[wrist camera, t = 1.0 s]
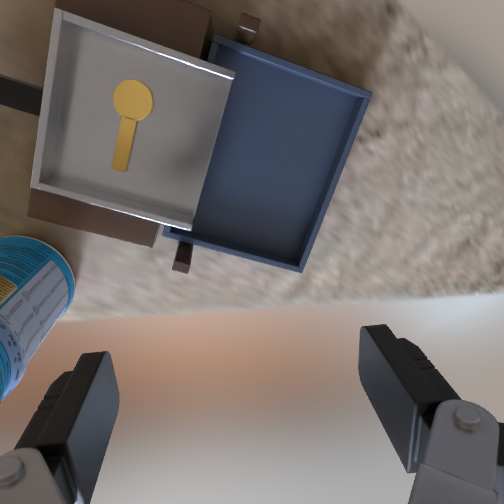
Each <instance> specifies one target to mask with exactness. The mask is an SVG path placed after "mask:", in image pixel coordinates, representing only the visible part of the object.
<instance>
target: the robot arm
mask: <svg viewBox="0 0 504 504" xmlns="http://www.w3.org/2000/svg"><path fill="white" fill-rule="evenodd" d="M358 365H359V366H358V369H359V376H360V380H361V383H362V386H363V388H364V390H365V392H366V394H367V396H368V398H369V400H370V402H371V403H372V406H373V407H374V409H375V411H376V413H377V415H378V417H379V419H380V421H381V423H382V425H383V427H384V429H385V431H386V433H387V435H388V436H389V438H390V441H391V442H392V444H393V446H394V448H395V450H396V452H397V454H398V456H399V458H400V460H401V462H402V464H403V466H404V468H405V470H406V472H407V473H415V472H417V473H416V476H415V480H414V484H413V487H412V491H411V494H410V498H409V502H408V504H504V423H500V422H497V420H496V419H495V417H494V416H493V415H492V414H491V413H489V412H488V411H487V410H486V409H484V408H482V407H481V406H479V405H477V404H475V403H472V402H468V401H465V400H462V399H461V398H460V397H459V396H458V395H457V393H456V392H455V391H454V390H453V388H452V387H451V386H450V385H449V384H448V382H447V381H446V380H445V379H444V378H443V376H442V375H441V374H440V373H439V371H438V370H437V369H435V367H434V365H433V364H432V363H431V362H430V360H427V357H426V356H425V355H424V353H423V352H422V351H421V349H420V348H419V347H418V346H416V345H414V344H413V343H411V342H410V341H408V340H407V339H405V338H399V339H397V338H396V337H395V335H394V334H393V333H392V331H391V330H390V329H389V327H388V326H387V325H386V324H381V325H372V326H362V327H361V330H360V344H359V364H358ZM118 409H119V390H118V385H117V381H116V376H115V372H114V368H113V364H112V359H111V355H110V353H109V352H108V351H103V352H93V353H84V354H82V355H81V356H80V358H79V361H78V362H77V364H76V366H75V368H74V370H73V371H68V372H64V373H63V374H62V375H61V376H60V377H59V378H58V379H56V380H55V381H54V382H53V383H52V384H51V385H50V387H49V389H48V391H47V393H46V394H45V396H44V400H42V401H41V403H40V405H39V406H38V410H37V411H36V412H35V413H34V415H33V417H32V419H31V420H30V422H29V424H28V426H27V427H26V429H25V431H24V433H23V434H22V436H21V438H20V440H19V441H18V443H17V445H16V447H15V448H14V450H12V451H9V452H7V453H5V454H3V455H1V456H0V504H90V501H91V498H92V494H93V491H94V488H95V485H96V482H97V478H98V475H99V472H100V469H101V465H102V462H103V459H104V456H105V452H106V449H107V446H108V442H109V439H110V436H111V433H112V429H113V426H114V423H115V420H116V417H117V414H118Z"/></svg>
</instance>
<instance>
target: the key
mask: <svg viewBox="0 0 504 504" xmlns="http://www.w3.org/2000/svg"><path fill="white" fill-rule="evenodd" d="M113 103H114V106H115V108H116V110H117V111H118V113H119V114H120V115H121V116H122V117H121V122H120V127H119V132H118V137H117V142H116V147H115V152H114V157H113V162H112V167H111V169H114V170H118V171H121V172H124V173H125V172H126V171H127V167H128V162H129V157H130V153H131V148H132V143H133V139H134V134H135V129H136V125H137V121H138V120H142V119H144V118H146V117H147V116H148V115H149V114H150V112H151V111H152V108H153V96H152V93H151V91H150V90H149V88H148V87H147V86H146V85H145V84H144V83H142V82H141V81H138V80H134V79H127V80H124V81H122V82H120V83H119V84H118V85H117V86H116V88H115V90H114V93H113Z"/></svg>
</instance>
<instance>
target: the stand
mask: <svg viewBox="0 0 504 504" xmlns="http://www.w3.org/2000/svg"><path fill="white" fill-rule="evenodd" d="M55 7H56V8H58V9H61V10H63V11H67V12H70V13H72V14H75V15H78V16H81V17H84V18H86V19H89V20H92V21H95V22H98V23H100V24H103V25H106V26H109V27H112V28H114V29H117V30H120V31H123V32H126V33H128V34H131V35H134V36H137V37H140V38H142V39H145V40H148V41H151V42H154V43H156V44H159V45H162V46H165V47H168V48H170V49H173V50H176V51H179V52H182V53H185V54H187V55H190V56H193V57H196V58H199V59H201V58H202V54H203V50H204V46H205V42H206V38H207V34H208V30H209V26H210V22H211V18H212V16H211V11H210V10H207V9H205V8H202V7H200V6H197V5H194V4H192V3H189V2H186V1H184V0H56V5H55ZM260 22H261V20H260V19H258V18H256V17H253V16H250V15H248V14H245V13H242V15H241V18H240V21H239V24H238V27H237V31H236V34H235V39H238V40H240V41H243V42H246V43H249V44H250V43H251V42H252V40H253V38H254V37H255V35H256V34H257V32H258V29H259V25H260ZM27 216H29V217H32V218H36V219H40V220H44V221H48V222H52V223H56V224H60V225H63V226H67V227H71V228H75V229H79V230H83V231H87V232H90V233H94V234H98V235H102V236H106V237H110V238H114V239H117V240H121V241H125V242H129V243H133V244H137V245H141V246H144V247H148V248H153V245H154V243H155V240H156V237H157V233H158V229H159V225H160V223H159V222H156V221H152V220H148V219H145V218H141V217H137V216H134V215H130V214H126V213H123V212H119V211H115V210H112V209H108V208H104V207H101V206H97V205H93V204H90V203H86V202H82V201H79V200H75V199H71V198H68V197H64V196H60V195H57V194H53V193H49V192H46V191H42V190H39V189H34V188H31V189H30V197H29V204H28V211H27ZM192 250H193V244H190V243H186V242H182V241H179V244H178V247H177V251H176V255H175V259H174V263H173V267H172V270H173V271H177V272H181V273H185V274H188V272H189V268H190V264H191V257H192Z"/></svg>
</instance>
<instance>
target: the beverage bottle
mask: <svg viewBox="0 0 504 504" xmlns="http://www.w3.org/2000/svg"><path fill="white" fill-rule="evenodd" d="M74 292H75V279H74V275H73V272H72V269H71V267H70V265H69V264H68V262H67V261H66V259H65V258H64V257H63V256H62V255H61V254H60V253H59V252H58V251H57V250H56V249H55V248H53V247H52V246H50V245H49V244H47V243H45V242H43V241H41V240H38V239H35V238H32V237H27V236H5V237H1V238H0V402H1V400H3V399H4V398H5V397H6V396H7V395H8V394H9V393H10V392H11V391H12V390H13V389H14V388H15V387H16V385H17V384H18V383H19V381H20V380H21V378H22V376H23V375H24V373H25V371H26V368H27V365H28V362H29V360H30V359H31V357H32V356H33V354H34V353H35V351H36V350H37V348H38V347H39V345H40V344H41V342H42V341H43V340H44V338H45V337H46V336H47V334H48V333H49V331H50V330H51V328H52V327H53V326H54V324H55V323H56V322H57V320H58V319H59V318H60V317H61V316H62V315H63V314H64V313H65V311H66V310H67V309H68V307H69V306H70V304H71V302H72V300H73V297H74Z"/></svg>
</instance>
